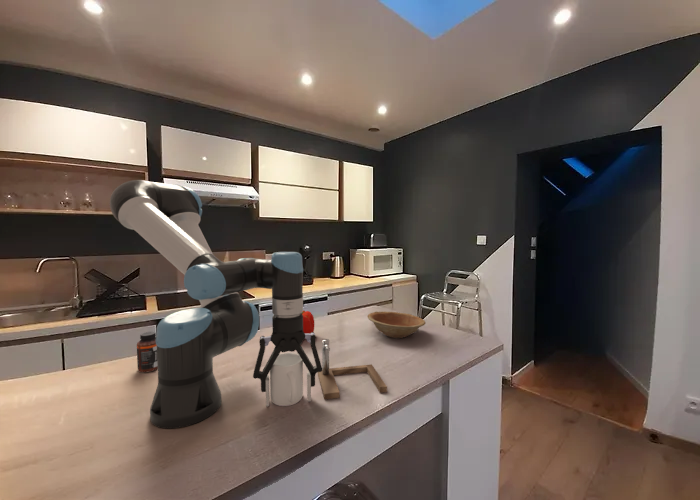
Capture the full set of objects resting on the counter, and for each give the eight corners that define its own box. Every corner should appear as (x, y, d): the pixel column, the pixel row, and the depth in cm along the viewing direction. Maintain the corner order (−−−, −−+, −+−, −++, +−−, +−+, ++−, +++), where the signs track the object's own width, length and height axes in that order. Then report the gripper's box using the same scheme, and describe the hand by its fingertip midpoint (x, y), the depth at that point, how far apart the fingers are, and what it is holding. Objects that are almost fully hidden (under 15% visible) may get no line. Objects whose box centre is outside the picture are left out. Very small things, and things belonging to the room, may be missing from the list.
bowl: (431, 346, 115) (431, 325, 115) (368, 345, 116) (368, 324, 115) (418, 326, 139) (418, 309, 138) (366, 326, 139) (366, 308, 139)
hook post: (324, 381, 85) (324, 346, 84) (321, 372, 90) (321, 339, 90) (331, 380, 85) (331, 345, 84) (328, 371, 91) (328, 338, 90)
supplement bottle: (163, 368, 95) (161, 333, 95) (140, 375, 91) (139, 338, 90) (157, 363, 99) (156, 329, 99) (135, 369, 95) (134, 333, 94)
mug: (311, 410, 74) (310, 369, 73) (276, 419, 70) (275, 375, 70) (298, 387, 84) (298, 350, 84) (268, 393, 81) (267, 355, 80)
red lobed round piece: (298, 330, 133) (298, 306, 132) (321, 336, 125) (321, 311, 124) (274, 339, 122) (273, 313, 121) (297, 346, 114) (297, 319, 113)
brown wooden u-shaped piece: (324, 399, 78) (324, 393, 78) (317, 374, 92) (317, 369, 92) (386, 392, 82) (386, 386, 82) (371, 369, 96) (371, 364, 96)
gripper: (238, 321, 70) (240, 415, 71) (334, 315, 75) (334, 403, 76) (242, 312, 77) (244, 398, 78) (329, 307, 82) (329, 388, 83)
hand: (288, 400), depth 77 cm, fingers open, 9 cm apart
